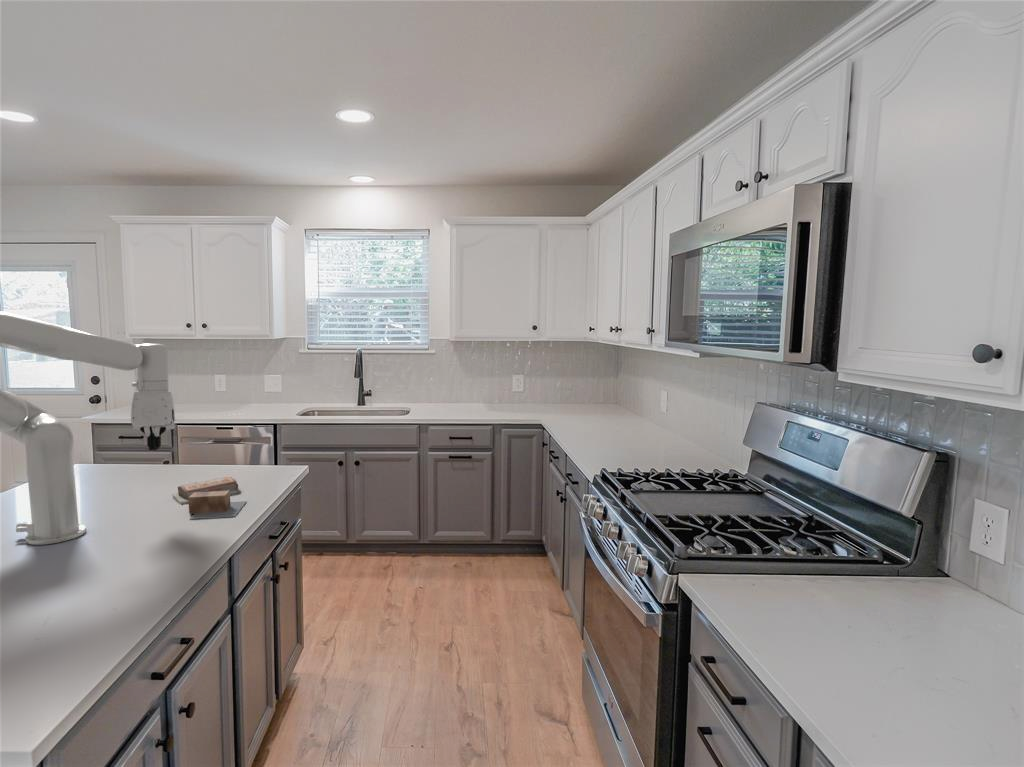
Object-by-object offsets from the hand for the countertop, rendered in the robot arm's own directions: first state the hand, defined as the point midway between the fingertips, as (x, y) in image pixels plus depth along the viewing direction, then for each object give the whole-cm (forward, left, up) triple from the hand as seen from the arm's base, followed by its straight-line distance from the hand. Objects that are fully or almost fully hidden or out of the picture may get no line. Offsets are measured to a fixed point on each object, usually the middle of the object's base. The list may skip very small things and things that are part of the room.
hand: (154, 449), depth 166 cm
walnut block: (+9, 0, -17) cm, 19 cm away
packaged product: (+8, +18, -20) cm, 28 cm away
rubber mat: (+17, +1, -20) cm, 26 cm away
